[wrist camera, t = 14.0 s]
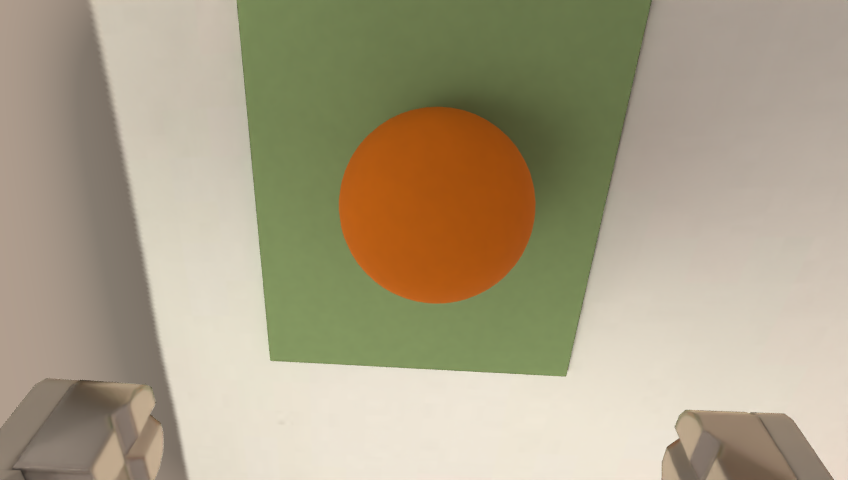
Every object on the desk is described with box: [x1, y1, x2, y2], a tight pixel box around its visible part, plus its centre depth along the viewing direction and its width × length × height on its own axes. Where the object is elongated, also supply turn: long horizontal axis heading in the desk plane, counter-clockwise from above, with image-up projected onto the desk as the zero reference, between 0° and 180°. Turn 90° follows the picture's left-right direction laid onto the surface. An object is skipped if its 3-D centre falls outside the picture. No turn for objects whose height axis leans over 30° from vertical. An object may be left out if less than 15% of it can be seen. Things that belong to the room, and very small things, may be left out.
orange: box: [339, 107, 536, 304], centre depth 17 cm, size 6×6×6 cm
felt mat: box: [237, 0, 651, 376], centre depth 20 cm, size 18×12×1 cm, turn 177°
